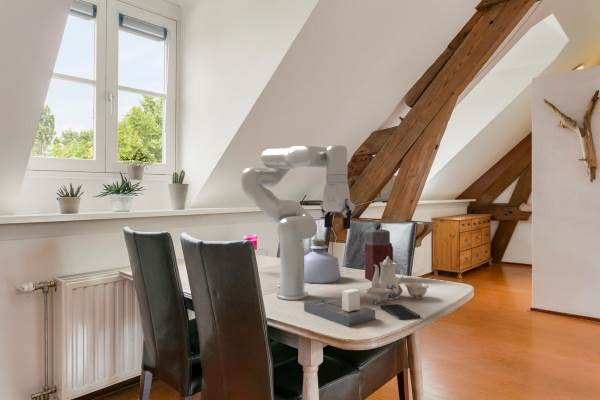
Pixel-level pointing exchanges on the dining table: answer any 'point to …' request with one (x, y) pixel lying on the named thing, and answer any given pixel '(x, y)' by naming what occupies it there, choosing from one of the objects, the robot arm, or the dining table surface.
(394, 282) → the chinaware
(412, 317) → the phone
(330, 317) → the fader console
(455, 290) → the dining table surface
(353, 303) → the fader tab
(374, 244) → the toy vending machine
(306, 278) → the bottle
